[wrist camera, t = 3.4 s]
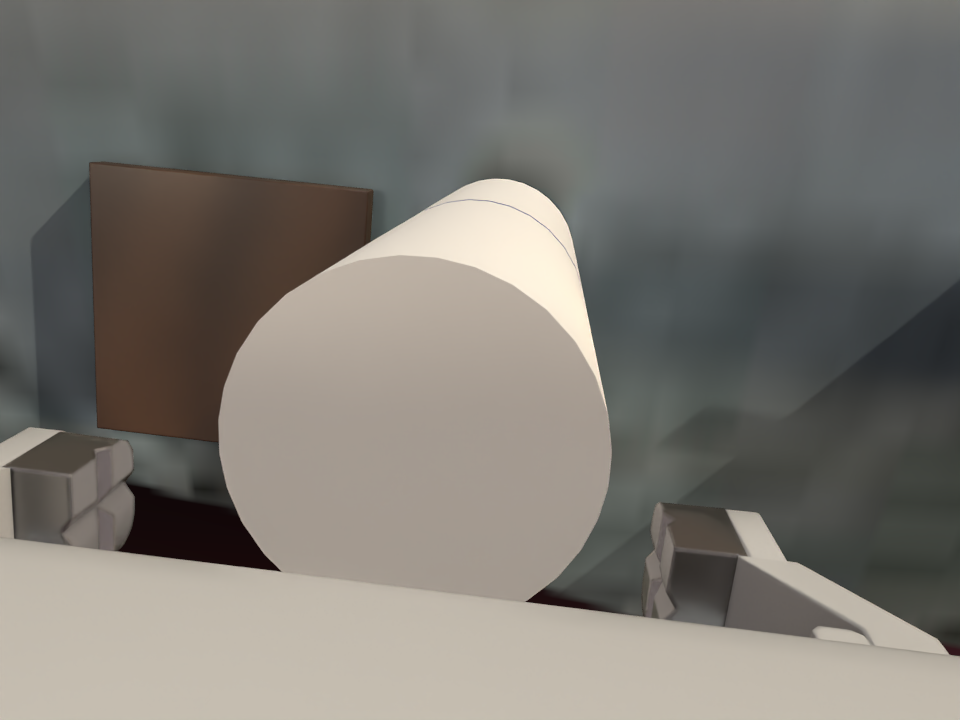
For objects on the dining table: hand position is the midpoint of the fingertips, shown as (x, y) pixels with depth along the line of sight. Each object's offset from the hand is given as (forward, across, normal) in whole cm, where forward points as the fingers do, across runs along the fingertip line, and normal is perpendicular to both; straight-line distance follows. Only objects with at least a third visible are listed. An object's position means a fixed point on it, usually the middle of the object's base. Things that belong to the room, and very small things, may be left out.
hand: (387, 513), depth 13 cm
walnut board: (+27, +12, +4) cm, 30 cm away
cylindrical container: (+28, 0, 0) cm, 28 cm away
